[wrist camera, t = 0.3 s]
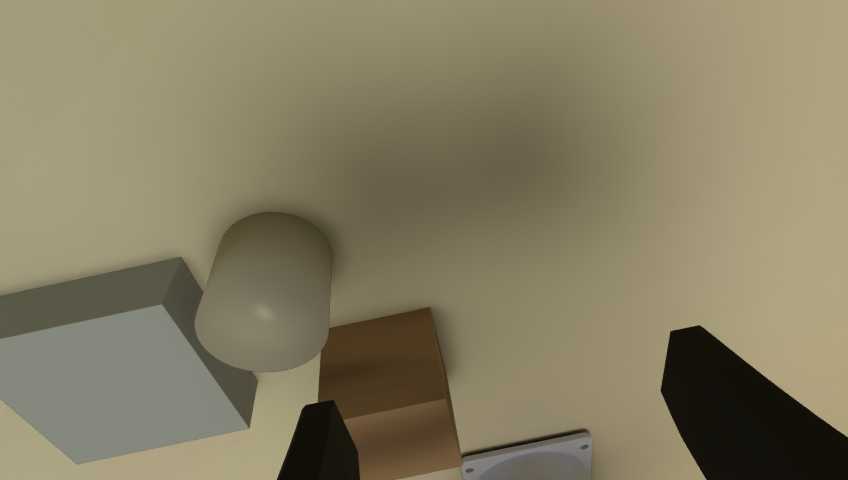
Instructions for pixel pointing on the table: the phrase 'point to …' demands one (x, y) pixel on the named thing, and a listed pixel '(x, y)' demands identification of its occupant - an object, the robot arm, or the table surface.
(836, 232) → the table surface
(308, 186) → the table surface
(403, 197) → the table surface
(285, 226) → the grey rounded lump
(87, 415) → the slate plinth
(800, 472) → the robot arm
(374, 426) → the walnut cube
